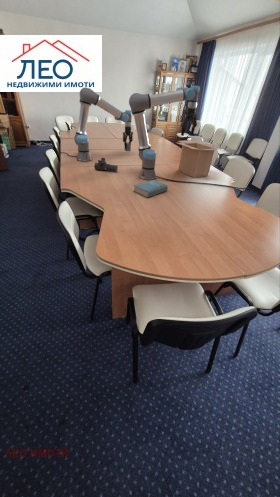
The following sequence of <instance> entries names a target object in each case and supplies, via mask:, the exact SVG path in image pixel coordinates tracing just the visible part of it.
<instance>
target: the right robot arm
mask: <svg viewBox="0 0 280 497" xmlns="http://www.w3.org/2000/svg"><path fill="white" fill-rule="evenodd" d="M200 89H201V88H200V85H190V87H177V88H176V90H171V91H165V92H160V93H155V94H150V93H146V94H145V93H144V94H143V93H139V92H134V93H132V94H131V95H130V96H129V99H128V105H129V107H130V110H131V112H132V116H133V119H134V123H135V128H136V135H137V140H138V147H137V148H138V157H139V159H140V160H141V169H140V172H139V178H140V179H142V180H146V181H150V180H156V178H158V179H161V180H166V181H169V182H175V183H183V184H184V183H186V184H197V185H199V184H200V185H209V186H217V187H219V186H221V187H226V188H232V189H238V190H247V191H249V192H251V189H250V188H249V187H248V188H247V187H238V186H232V185H226V184H217V183H211V182H210V183H209V182H198V181H197V182H196V181H185V180H184V181H183V180H174V179H169V178H165V177H162V176H157V174H156V169H155V167H156V158H157V152H156V150H154V149H152V144H150V143H149V137H148V131H147V124H146V116H145V112H146V111H147V110H149V109H152V108H153V107H157V106H158V107H159V106H163V105H168V104H174V103H178V102H183V101H188V103H187V109H186V113H187V114H184V115H183V118H182V121H181V123H180V125H179V126H180V128H181V130H180V131H181V132H180V136H184V135H185V129H186V125H187V124H188V122H189V121H190V122H191V130H190V136H191V135H192V136H193V135H194V133H195V130H196V128H197V126H198V120H197V114H196V111H197V106H198V100H199V95H200Z"/></svg>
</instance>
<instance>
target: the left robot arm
mask: <svg viewBox="0 0 280 497" xmlns="http://www.w3.org/2000/svg"><path fill="white" fill-rule="evenodd" d="M79 104H80V108H79V115H78V124H77V130H75V135H74V138H73V140H74V143H75V145H77V155H70V154H68V153H67V152H65V151H60V152H59V154H66V155H67V156H68V157H72V158H73V157H74V158H76V159H77V161H79V162H91V161H92V159H93V158H92V155H91V153H90V139H89V136H88V133H87V127H88V120H89V112H90V107H92V106H97V107H98V108H100V109H102V110H103V111H105V112H107V113H108V114H110V115H111V116H113V117H114V120H115V121H121V122H122V123H124V131H123V132H122V142H123V146H124V149H125V148H126V149H127V143H126V142H127V139H128V142H129V143H131V144H132V142H133V138H134V136H133V135H134V131H132V123H133V122H132V121H133V120H132V118H133V115H132V112H131V109H125V110H124V111H122V110H120V109H119V108H117V107H116V106H114V105H113V104H111V103H109V102H108V101H107V100H105V99H103V98H102V97H101V96H100V94H98V93H97V92H95V91H94V90H93V89H91V88H90V87H82V88H81V89H80V90H79Z"/></svg>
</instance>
